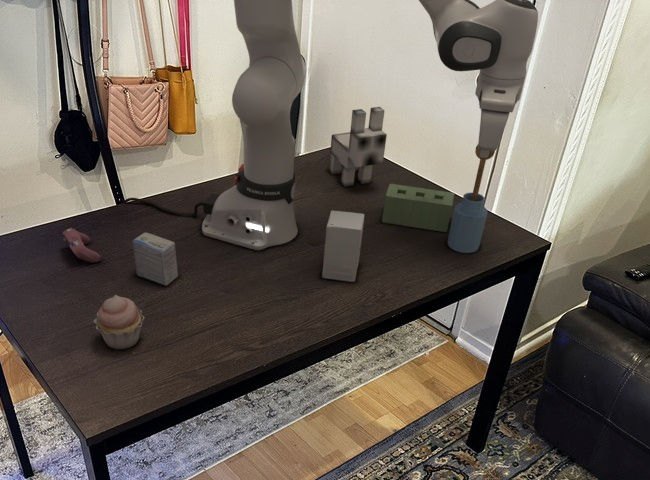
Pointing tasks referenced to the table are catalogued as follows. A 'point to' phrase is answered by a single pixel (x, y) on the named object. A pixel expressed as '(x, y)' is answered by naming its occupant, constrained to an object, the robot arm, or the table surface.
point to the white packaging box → (342, 245)
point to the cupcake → (119, 322)
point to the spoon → (479, 172)
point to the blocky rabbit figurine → (358, 147)
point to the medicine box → (155, 258)
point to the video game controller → (80, 245)
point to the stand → (417, 207)
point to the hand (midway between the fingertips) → (484, 154)
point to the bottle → (467, 224)
